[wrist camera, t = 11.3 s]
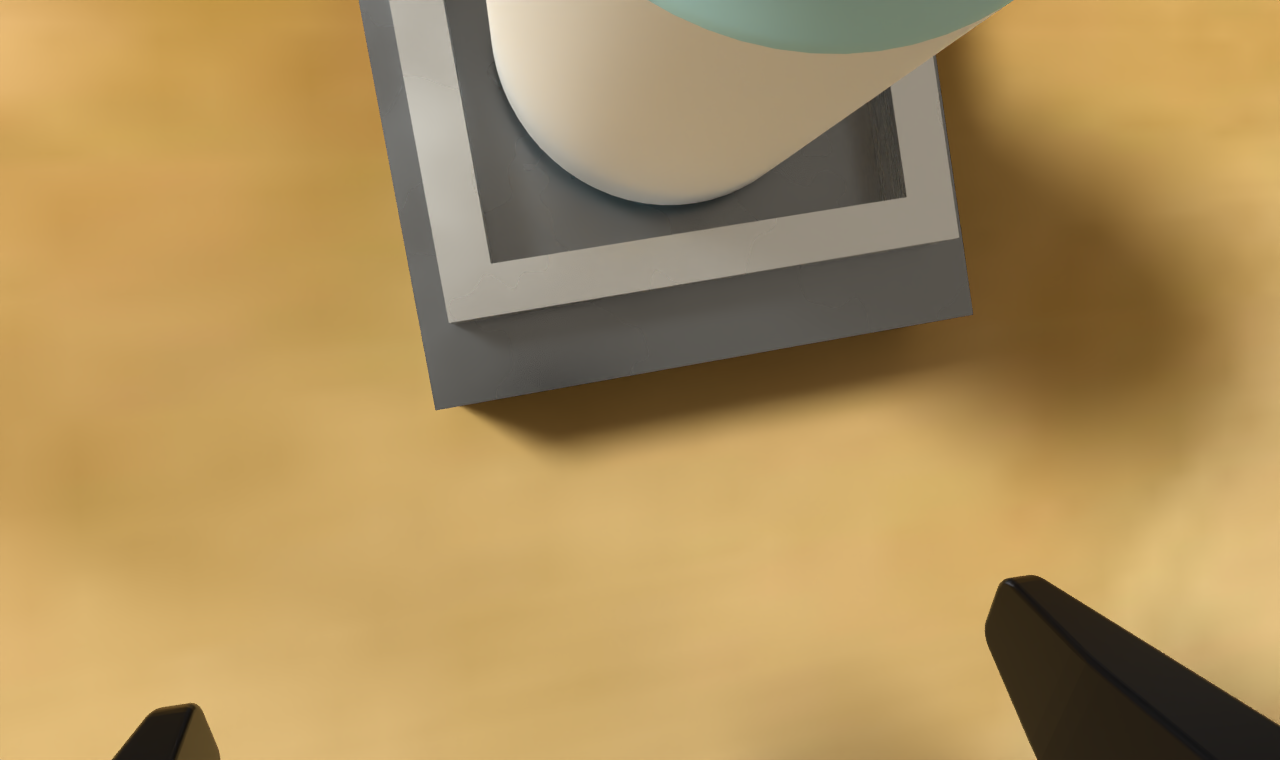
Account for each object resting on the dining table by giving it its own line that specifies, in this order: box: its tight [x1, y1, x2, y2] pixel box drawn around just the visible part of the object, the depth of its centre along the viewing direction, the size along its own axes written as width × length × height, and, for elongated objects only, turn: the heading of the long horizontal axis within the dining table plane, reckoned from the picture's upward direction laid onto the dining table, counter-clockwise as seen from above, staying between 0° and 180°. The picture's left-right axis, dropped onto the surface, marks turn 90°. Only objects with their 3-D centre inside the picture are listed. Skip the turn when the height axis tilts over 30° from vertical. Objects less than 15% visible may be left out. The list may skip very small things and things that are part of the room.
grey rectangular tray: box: [359, 0, 973, 410], centre depth 19 cm, size 14×12×4 cm
